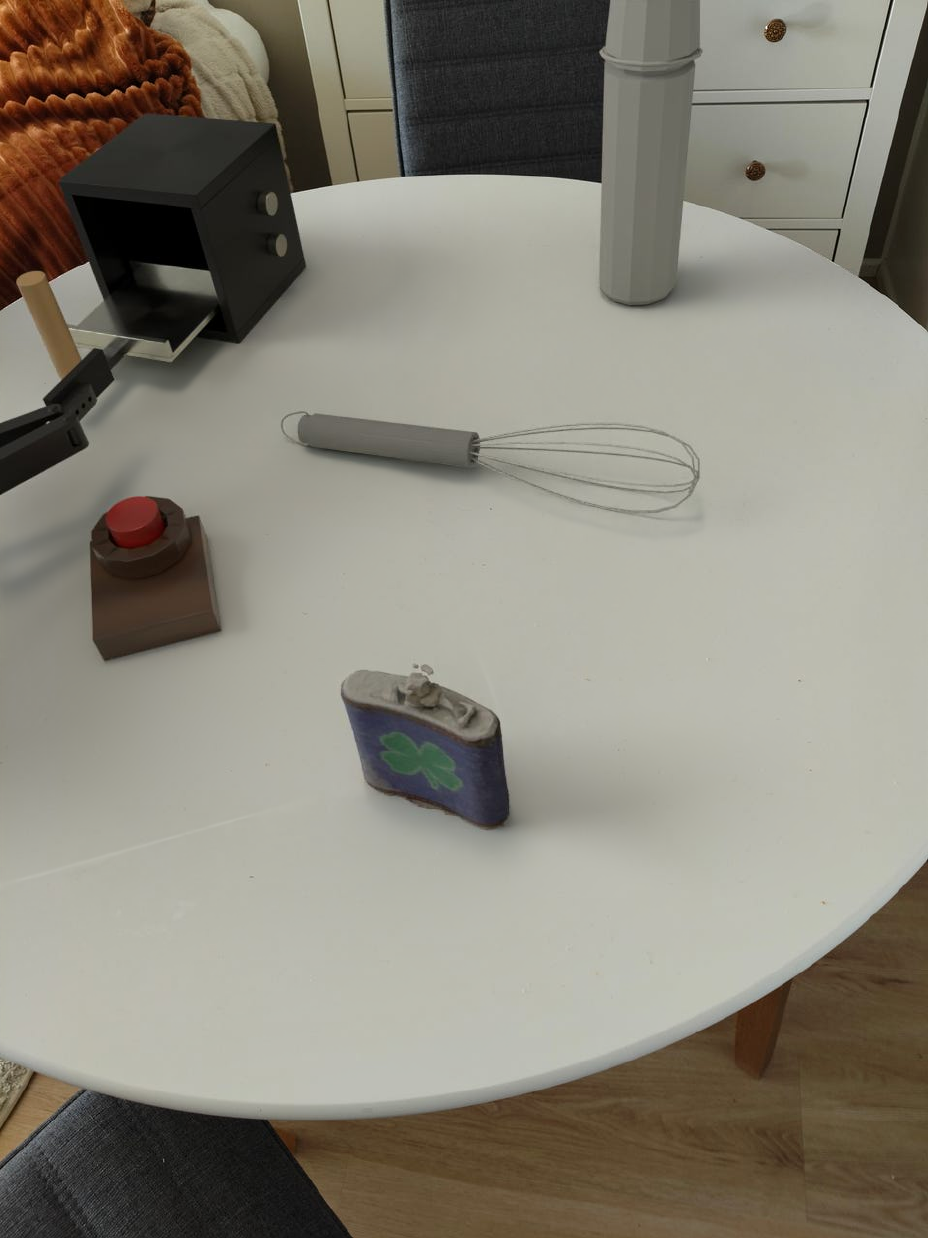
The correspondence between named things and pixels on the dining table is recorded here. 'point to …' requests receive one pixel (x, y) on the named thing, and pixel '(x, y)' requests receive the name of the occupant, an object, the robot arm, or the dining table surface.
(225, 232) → the oven
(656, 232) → the water bottle
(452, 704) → the flask
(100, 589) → the brown boxy piece
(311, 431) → the kitchen whisk
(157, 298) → the tray
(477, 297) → the dining table surface
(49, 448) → the robot arm
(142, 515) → the button
